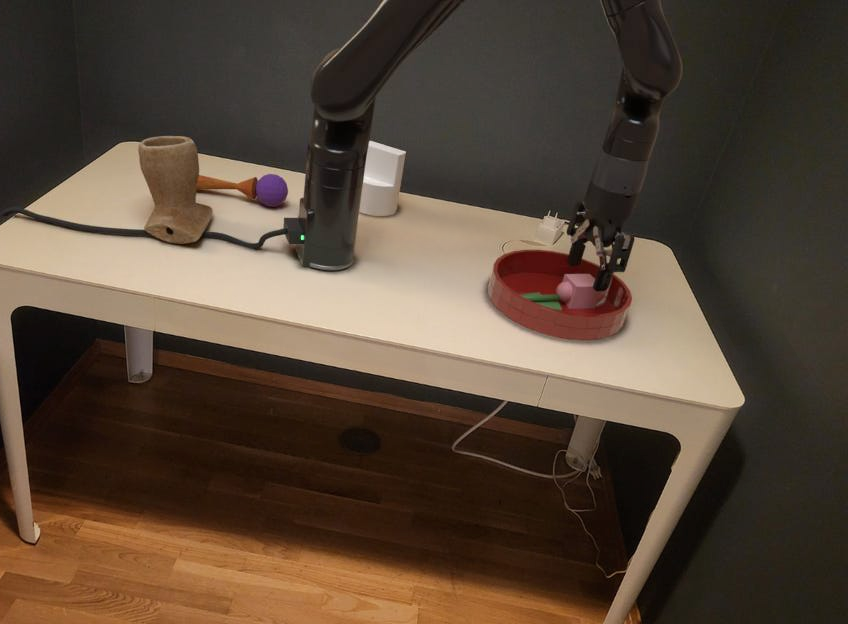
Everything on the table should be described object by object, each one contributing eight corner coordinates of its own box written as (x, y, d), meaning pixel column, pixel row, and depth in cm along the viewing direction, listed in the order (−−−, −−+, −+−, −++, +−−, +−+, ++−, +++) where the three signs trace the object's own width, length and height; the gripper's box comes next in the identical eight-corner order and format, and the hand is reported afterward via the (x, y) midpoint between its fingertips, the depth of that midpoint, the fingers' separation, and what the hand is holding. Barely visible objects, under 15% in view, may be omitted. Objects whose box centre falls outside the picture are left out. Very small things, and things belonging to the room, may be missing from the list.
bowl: (523, 344, 111) (530, 319, 108) (467, 273, 128) (472, 249, 126) (649, 339, 117) (659, 314, 115) (580, 271, 135) (587, 249, 132)
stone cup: (152, 205, 134) (150, 122, 126) (218, 214, 134) (220, 132, 126) (125, 240, 121) (120, 151, 113) (198, 251, 122) (198, 162, 114)
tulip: (515, 313, 118) (522, 290, 116) (501, 295, 122) (506, 272, 120) (608, 310, 123) (616, 288, 121) (590, 293, 127) (598, 271, 125)
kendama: (190, 162, 143) (291, 173, 141) (190, 193, 145) (290, 205, 143) (178, 166, 137) (284, 178, 135) (178, 199, 140) (282, 210, 138)
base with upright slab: (343, 206, 145) (350, 146, 139) (365, 194, 152) (373, 136, 146) (383, 220, 142) (392, 159, 136) (404, 207, 149) (414, 148, 142)
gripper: (571, 164, 117) (545, 257, 126) (620, 200, 106) (587, 300, 114) (612, 165, 119) (584, 257, 128) (664, 201, 108) (629, 298, 117)
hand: (585, 277), depth 121 cm, fingers open, 8 cm apart
